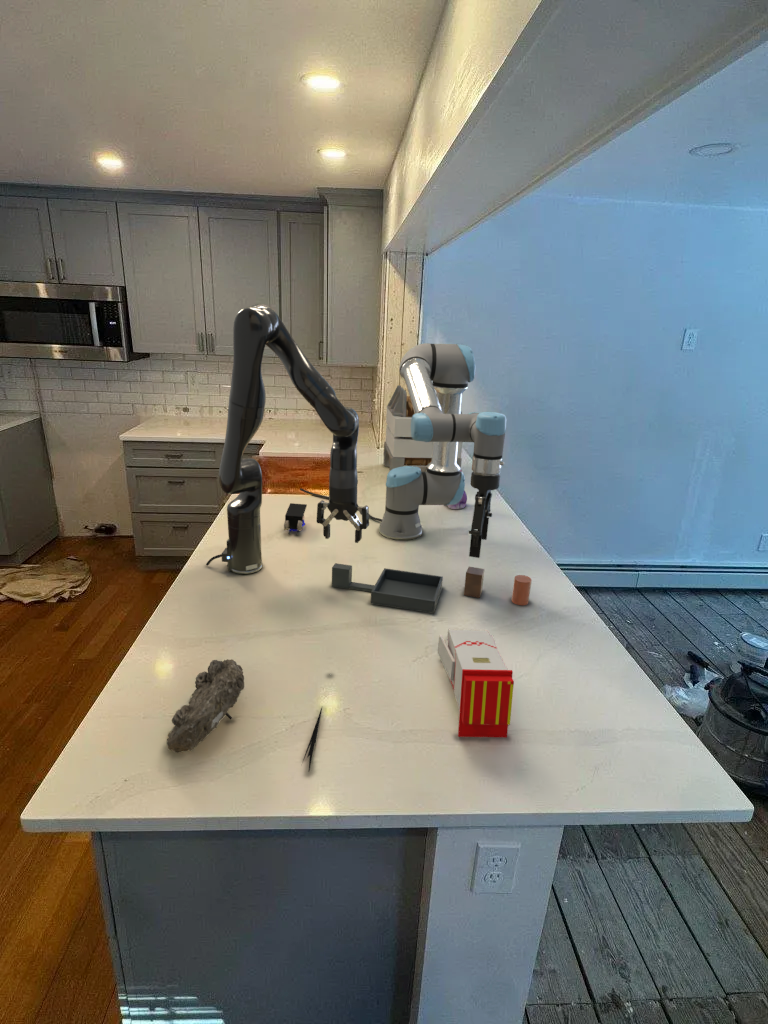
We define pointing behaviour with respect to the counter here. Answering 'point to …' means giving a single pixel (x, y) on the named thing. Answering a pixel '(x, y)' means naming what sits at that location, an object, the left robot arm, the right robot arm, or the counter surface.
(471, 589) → the walnut block
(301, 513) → the figurine character
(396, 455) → the white crate
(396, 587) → the tray
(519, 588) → the terracotta cylinder
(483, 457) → the right robot arm
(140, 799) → the counter surface
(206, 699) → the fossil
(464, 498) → the figurine
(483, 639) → the toy
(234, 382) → the left robot arm
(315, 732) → the feather
